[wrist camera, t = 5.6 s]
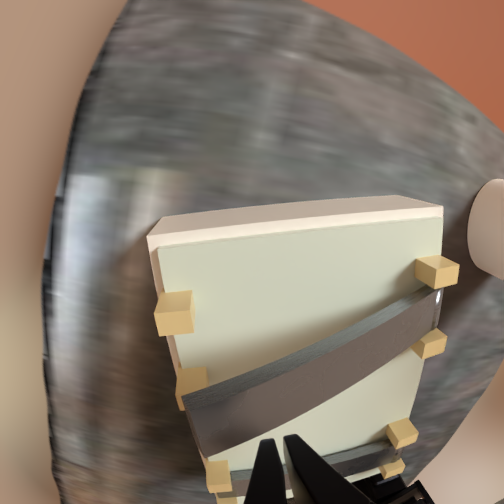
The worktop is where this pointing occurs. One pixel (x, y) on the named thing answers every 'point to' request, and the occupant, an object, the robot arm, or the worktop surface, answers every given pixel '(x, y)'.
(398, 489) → the robot arm
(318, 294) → the storage box
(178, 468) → the worktop surface
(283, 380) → the strap
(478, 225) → the cup
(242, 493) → the strap
